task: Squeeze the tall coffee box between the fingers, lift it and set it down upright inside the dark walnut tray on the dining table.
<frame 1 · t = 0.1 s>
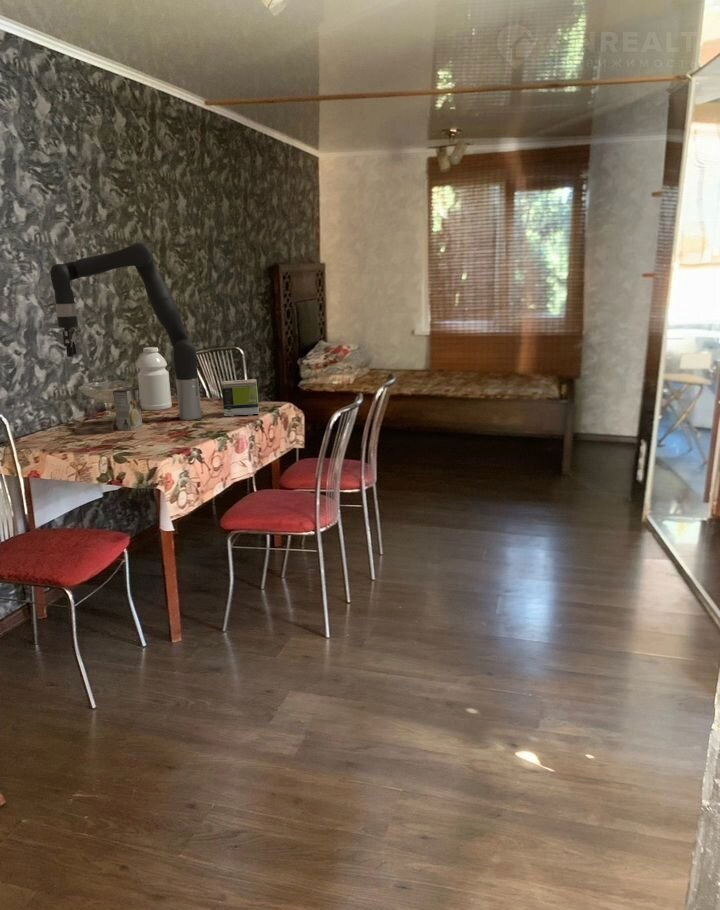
hand: (72, 355, 283), 29 cm above the table, fingers open, 8 cm apart
coffee box: (130, 428, 284), on the table
walnut tray: (96, 430, 280), on the table
bottle: (156, 408, 325), on the table
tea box: (241, 414, 306), on the table
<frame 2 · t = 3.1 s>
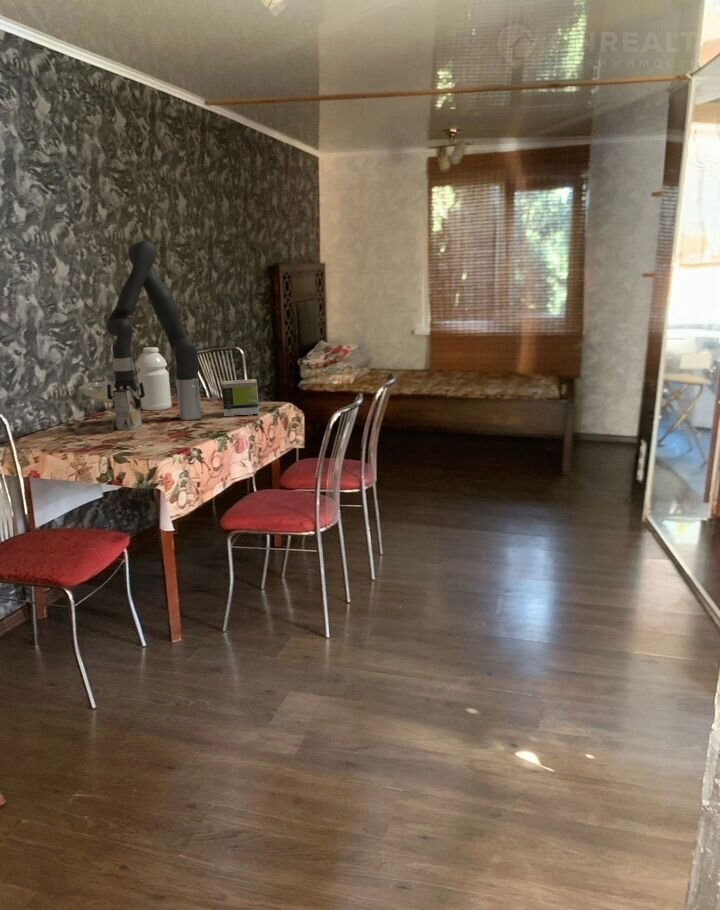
hand: (127, 408, 282), 8 cm above the table, fingers open, 8 cm apart
coffee box: (129, 428, 284), on the table, touching gripper
everything else where it was.
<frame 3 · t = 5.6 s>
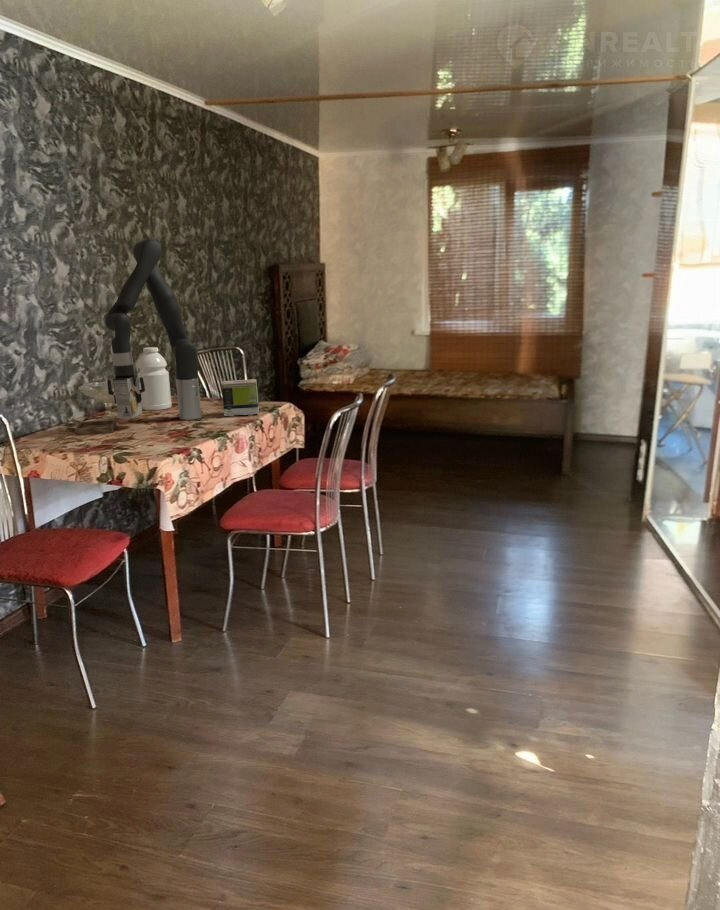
hand: (128, 403, 281), 10 cm above the table, fingers closed on coffee box, 8 cm apart
coffee box: (130, 416, 283), point 5 cm above the table, touching gripper
everything else where it was.
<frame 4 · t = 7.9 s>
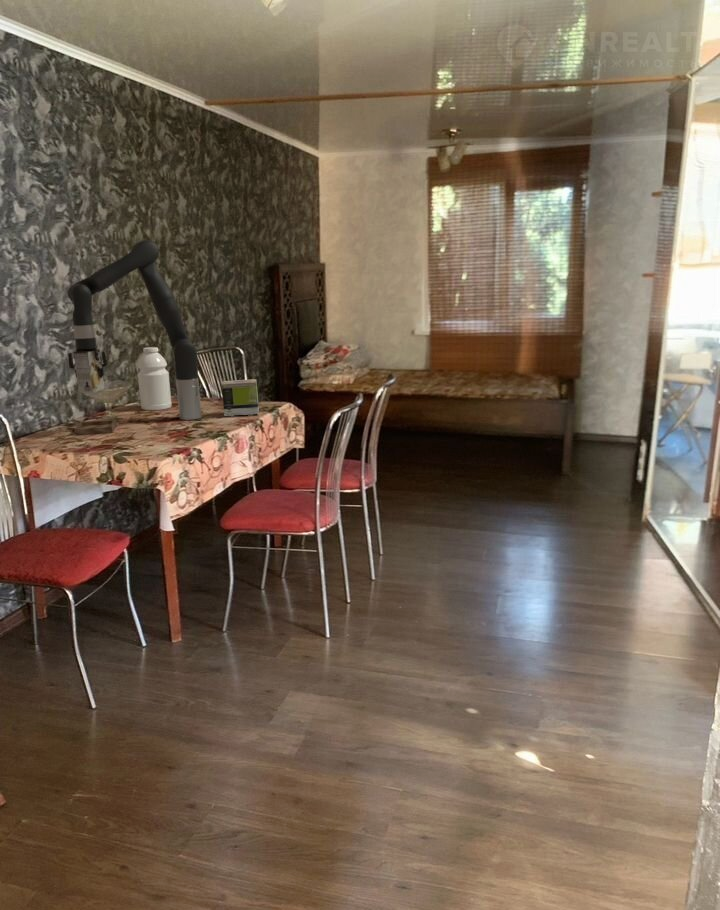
hand: (90, 378, 275), 21 cm above the table, fingers closed on coffee box, 8 cm apart
coffee box: (92, 391, 276), point 16 cm above the table, touching gripper
everything else where it was.
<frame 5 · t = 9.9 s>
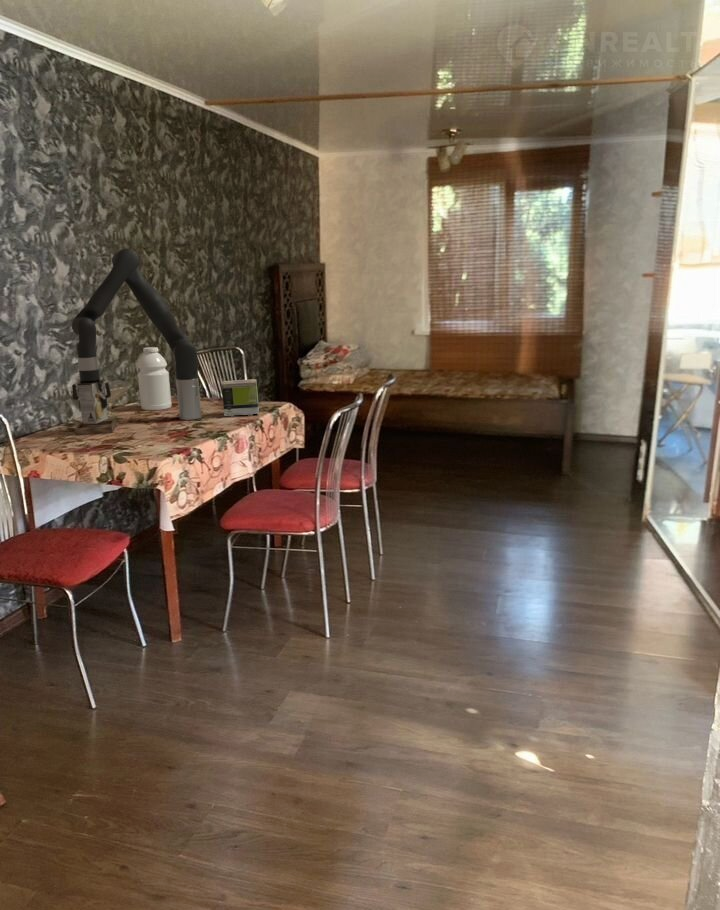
hand: (93, 408, 278), 9 cm above the table, fingers closed on coffee box, 8 cm apart
coffee box: (95, 421, 280), point 4 cm above the table, touching gripper
everything else where it was.
when the fingers open (7 cm above the table, at t = 11.4 s): coffee box drops 1 cm, resting on walnut tray.
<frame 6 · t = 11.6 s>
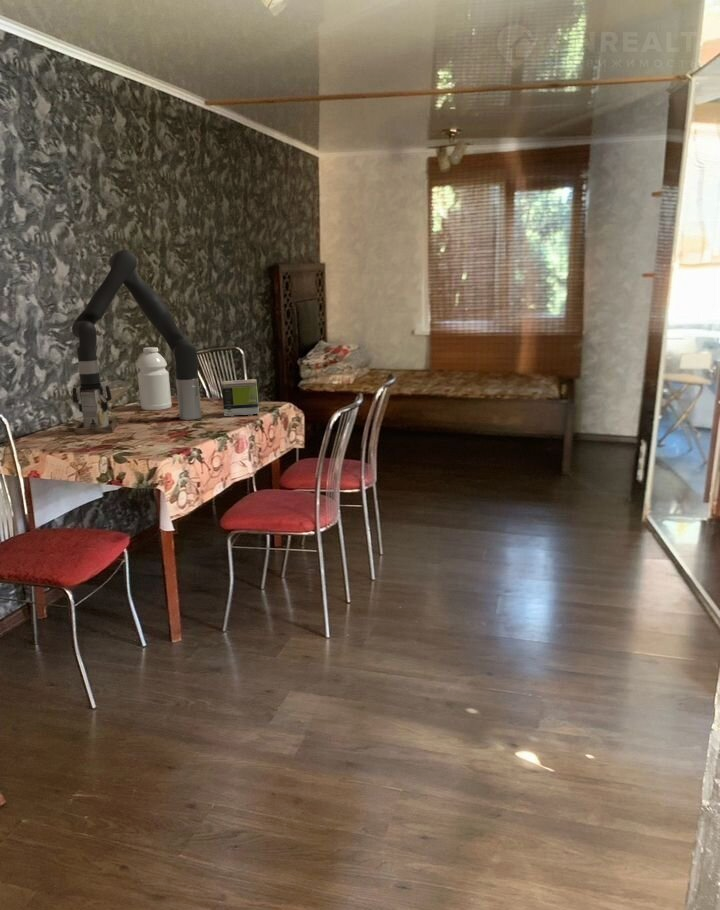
hand: (94, 412, 278), 8 cm above the table, fingers open, 8 cm apart
coffee box: (96, 428, 280), point 1 cm above the table, touching gripper, walnut tray
everything else where it was.
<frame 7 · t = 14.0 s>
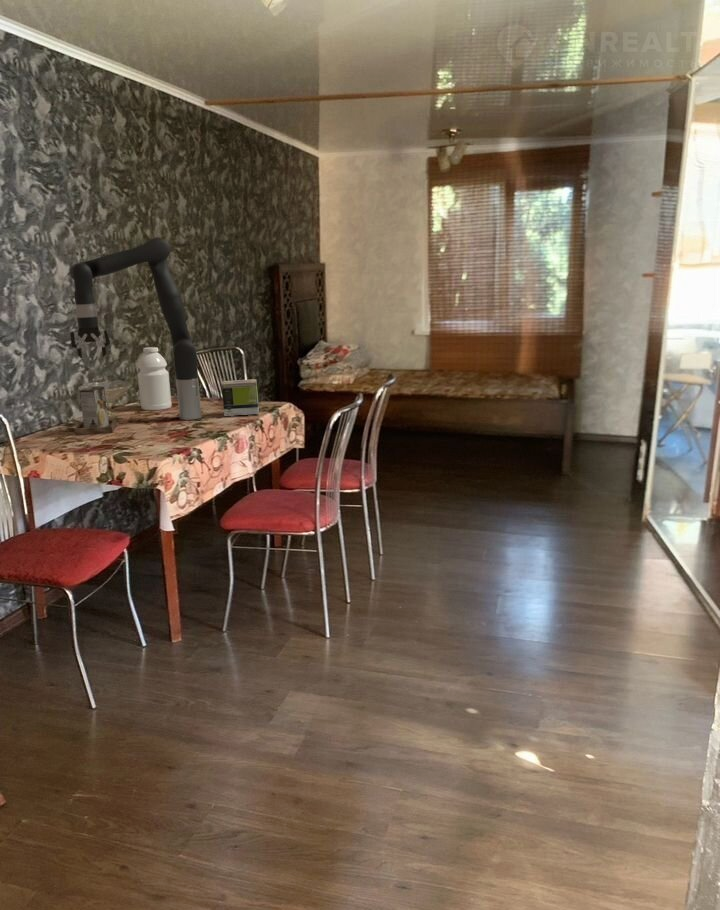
hand: (92, 357, 276), 29 cm above the table, fingers open, 8 cm apart
coffee box: (96, 428, 280), point 1 cm above the table, touching walnut tray
everything else where it was.
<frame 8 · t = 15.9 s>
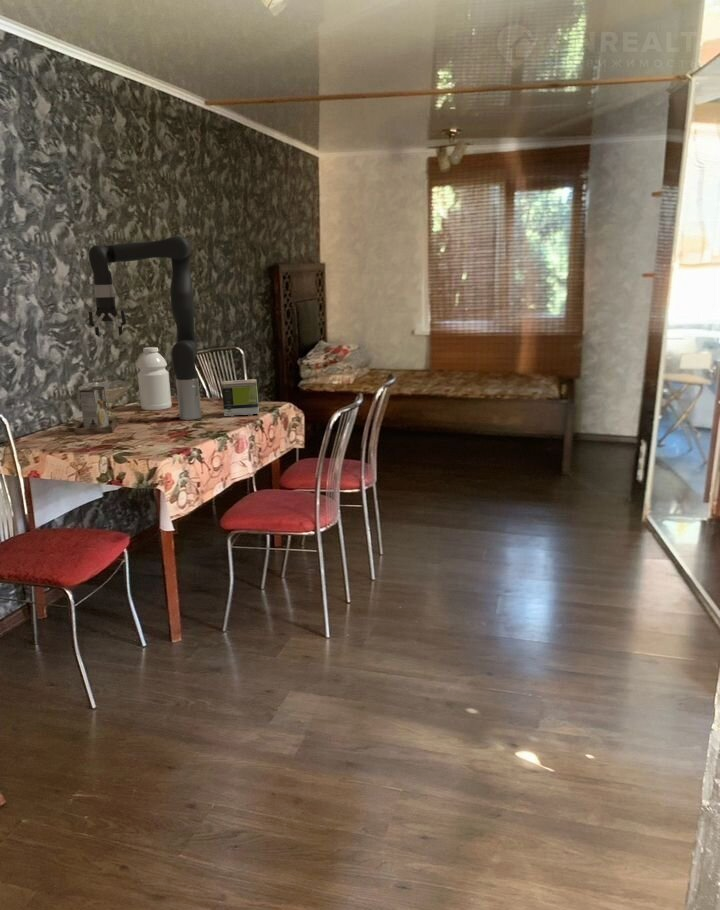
hand: (109, 336, 288), 36 cm above the table, fingers open, 8 cm apart
nothing on the table moved.
at the end: coffee box inside the target area on the walnut tray (0.4 cm from its centre), point 0.8 cm above the walnut tray's base; coffee box tilted 0°; the gripper is holding nothing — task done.
